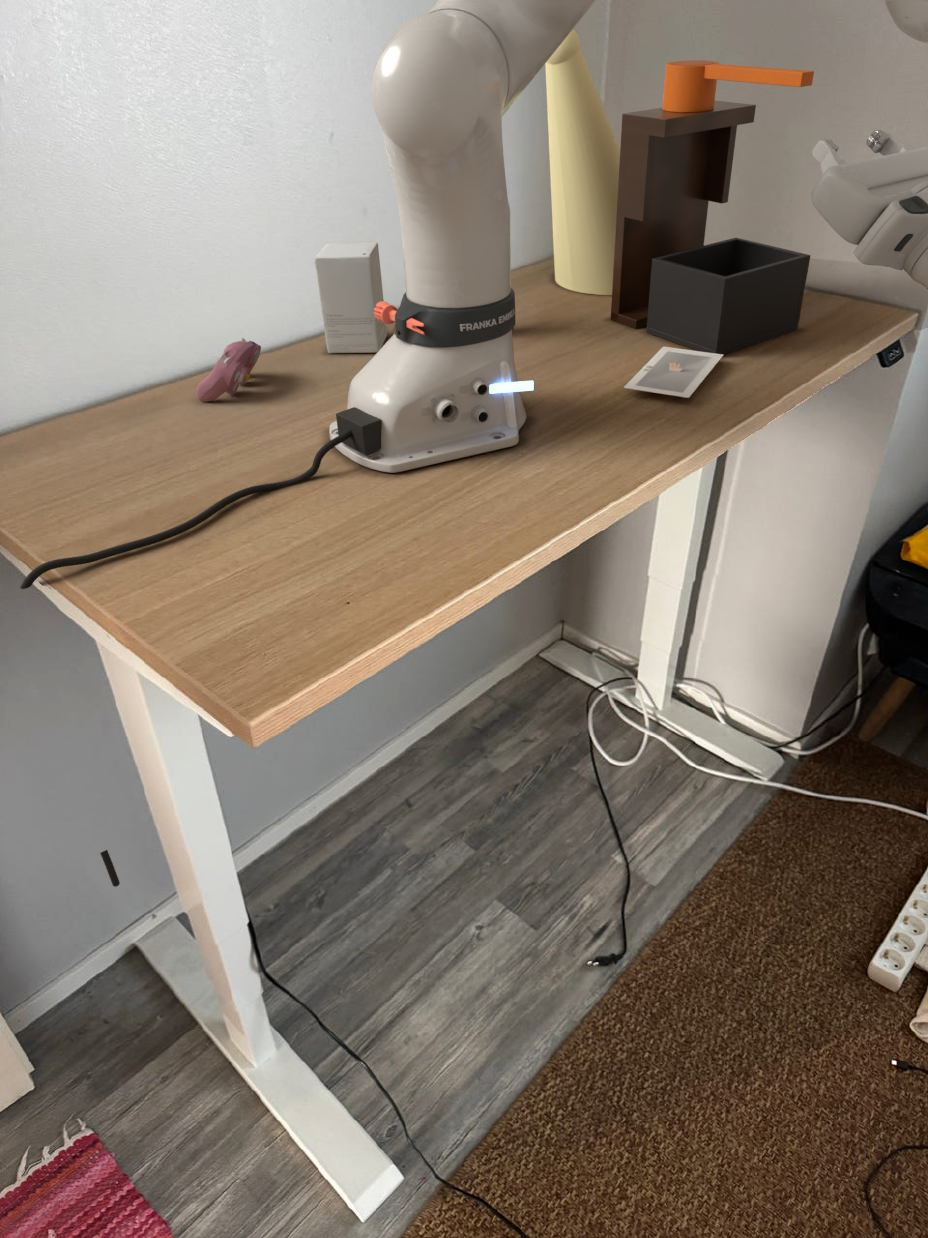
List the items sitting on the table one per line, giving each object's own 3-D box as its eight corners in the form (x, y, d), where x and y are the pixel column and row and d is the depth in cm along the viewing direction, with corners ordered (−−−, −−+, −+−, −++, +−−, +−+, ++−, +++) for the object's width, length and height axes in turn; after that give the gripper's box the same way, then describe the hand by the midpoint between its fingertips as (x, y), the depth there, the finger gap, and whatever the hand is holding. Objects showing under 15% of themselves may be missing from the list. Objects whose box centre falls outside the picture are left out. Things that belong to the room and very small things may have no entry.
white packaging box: (388, 335, 128) (380, 240, 121) (379, 354, 122) (370, 255, 115) (337, 335, 129) (325, 241, 122) (325, 354, 123) (312, 256, 116)
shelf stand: (648, 333, 125) (666, 119, 110) (610, 319, 130) (622, 113, 115) (729, 308, 132) (756, 104, 117) (689, 297, 137) (710, 99, 122)
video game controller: (225, 416, 111) (240, 367, 107) (191, 399, 111) (204, 349, 106) (256, 385, 119) (271, 339, 115) (224, 369, 118) (238, 321, 114)
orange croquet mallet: (781, 125, 103) (789, 73, 100) (651, 109, 117) (655, 63, 114) (818, 118, 106) (827, 68, 103) (687, 103, 120) (691, 58, 117)
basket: (715, 357, 117) (725, 278, 111) (646, 332, 125) (652, 258, 120) (797, 330, 124) (811, 254, 118) (726, 308, 132) (736, 237, 127)
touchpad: (722, 363, 115) (724, 346, 114) (687, 406, 105) (689, 388, 103) (662, 354, 118) (663, 338, 117) (622, 396, 108) (623, 378, 106)
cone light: (607, 256, 157) (620, 12, 137) (693, 276, 146) (721, 14, 125) (502, 287, 145) (499, 25, 124) (587, 312, 133) (599, 27, 113)
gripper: (1007, 185, 98) (923, 103, 102) (891, 215, 89) (803, 123, 93) (964, 233, 104) (886, 153, 108) (851, 266, 95) (770, 177, 99)
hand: (847, 139), depth 100 cm, fingers open, 8 cm apart
